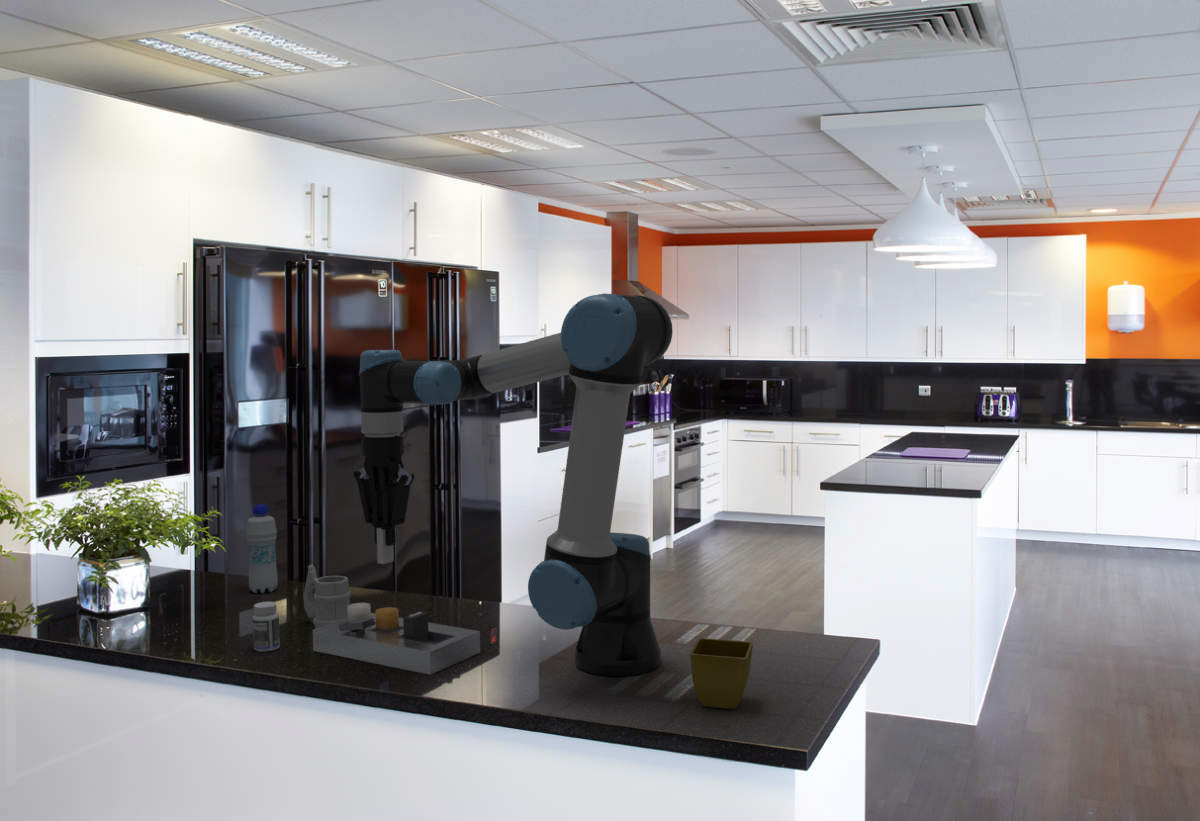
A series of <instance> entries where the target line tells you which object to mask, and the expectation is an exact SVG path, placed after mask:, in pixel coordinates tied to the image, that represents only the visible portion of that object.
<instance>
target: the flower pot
mask: <svg viewBox="0 0 1200 821" xmlns="http://www.w3.org/2000/svg"><path fill="white" fill-rule="evenodd" d="M753 646H754V643H753V642H751V641H743V640H730V639H720V638H718V639H717V638H714V639H713V638H700V637H699V638H698V639H697V640H696V643H695V644H694V646H693V648H692V649H691V651H690V653H689V656H690V657H689V658H690V666H691V675H692V684H693V687H694V691H695V694H696V696H697V698H698V700H699V702H700V703H701V705H702V706H703V707H707V708H716V709H719V708H720V709H728V710H736V709H737V708H738V706H739V703H740V701H741V699H742V698H743V695H744V691H745V688H746V686H747V683H748V680H749V677H750V676H749V675H750V671H751V665H752V664H751V662H752V654H753Z"/></svg>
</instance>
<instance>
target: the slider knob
mask: <svg viewBox="0 0 1200 821" xmlns="http://www.w3.org/2000/svg"><path fill="white" fill-rule="evenodd" d="M402 618H403V626H404V637H406V638H411V639H417V640H422V641H429V634H428V622H429V613H428V612H422V611H417V612H414V613H411V614H408V615H406V616H402Z"/></svg>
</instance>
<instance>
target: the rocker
mask: <svg viewBox="0 0 1200 821" xmlns="http://www.w3.org/2000/svg"><path fill="white" fill-rule="evenodd" d="M373 625H375V622H374V618H371V619H362V620H353V621H348V622H345V623H342V624H339V630H340V631H347V630H357V629H364V628H367V627H370V626H373Z"/></svg>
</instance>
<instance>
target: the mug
mask: <svg viewBox="0 0 1200 821" xmlns="http://www.w3.org/2000/svg"><path fill="white" fill-rule="evenodd" d="M349 587H350V586H349V578H348V577H347V576H343V575H329V576H328V575H327V576H321V577H318V576H317V571H316V567H315V566H314V565H313V564H309V565H308V566H307V575H306V580H305V585H304V592H303V593H302V594H303V595H302V596H303V598H302V599H303V608H304V611H305V612H306V614H307V617H308V619H309V618H310V619H311V618H312V624H313V625H314V629H316V628H319V627H322V626H325V625H328V624H331V623H334V622H337V621H340V620H343V619H346V618H348V608H347V606H348V605H350V604H351V600H350V598H351V596H352V593H351V591H350V588H349ZM313 590H314V593H313Z"/></svg>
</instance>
